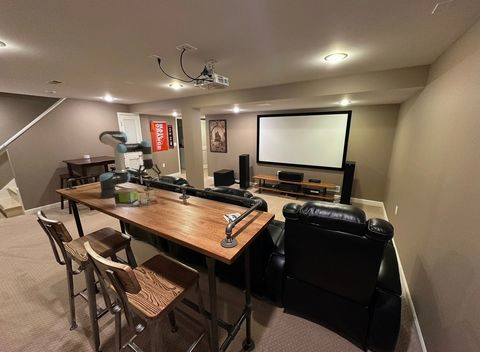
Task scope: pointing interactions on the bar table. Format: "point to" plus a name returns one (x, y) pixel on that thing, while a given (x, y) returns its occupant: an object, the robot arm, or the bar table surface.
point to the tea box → (126, 197)
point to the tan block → (143, 198)
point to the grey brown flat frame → (149, 203)
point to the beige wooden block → (151, 195)
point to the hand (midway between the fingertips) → (150, 182)
